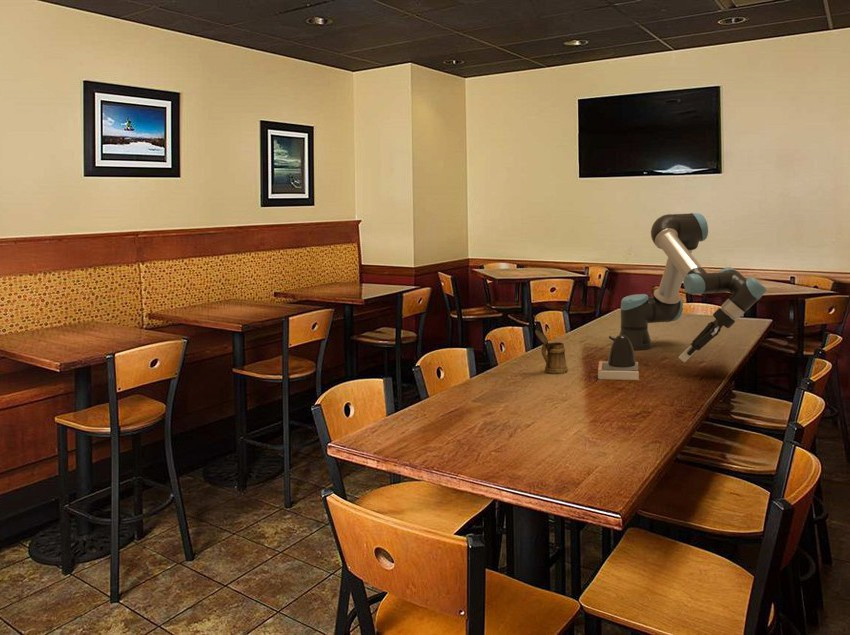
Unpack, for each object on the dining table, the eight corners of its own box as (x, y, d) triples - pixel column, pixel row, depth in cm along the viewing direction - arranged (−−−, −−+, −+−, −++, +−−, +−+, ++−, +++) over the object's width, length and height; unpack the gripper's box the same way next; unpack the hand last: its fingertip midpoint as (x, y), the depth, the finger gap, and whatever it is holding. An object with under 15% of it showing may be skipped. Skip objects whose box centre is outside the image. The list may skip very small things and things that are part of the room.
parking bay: (599, 369, 286) (599, 360, 285) (638, 369, 282) (638, 361, 281) (597, 378, 270) (597, 370, 270) (638, 380, 266) (638, 371, 266)
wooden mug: (530, 372, 285) (529, 327, 283) (559, 367, 290) (559, 324, 288) (542, 376, 277) (541, 330, 275) (572, 372, 282) (571, 327, 280)
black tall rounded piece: (614, 369, 285) (614, 331, 282) (639, 372, 278) (640, 333, 276) (603, 374, 277) (602, 335, 274) (628, 377, 270) (628, 338, 268)
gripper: (738, 324, 256) (690, 370, 264) (733, 317, 268) (688, 362, 276) (722, 310, 257) (674, 357, 264) (718, 304, 269) (672, 349, 276)
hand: (681, 359), depth 270 cm, fingers closed
